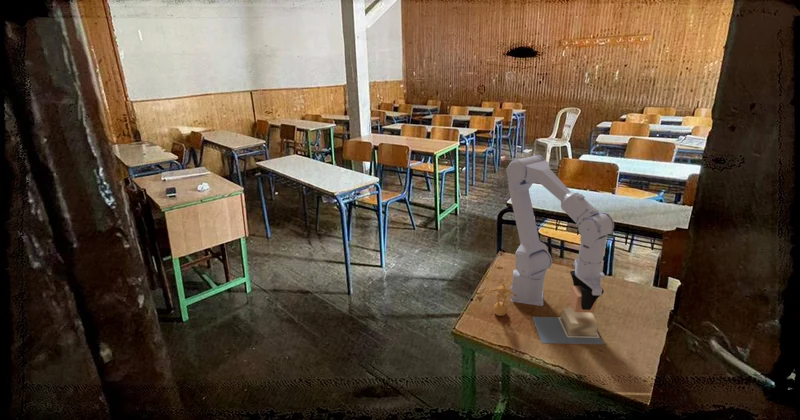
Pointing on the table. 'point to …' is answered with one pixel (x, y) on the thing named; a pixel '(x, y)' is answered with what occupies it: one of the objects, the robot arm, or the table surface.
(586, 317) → the maple base block
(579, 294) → the terracotta cube
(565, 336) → the mat
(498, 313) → the figurine
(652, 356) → the table surface
